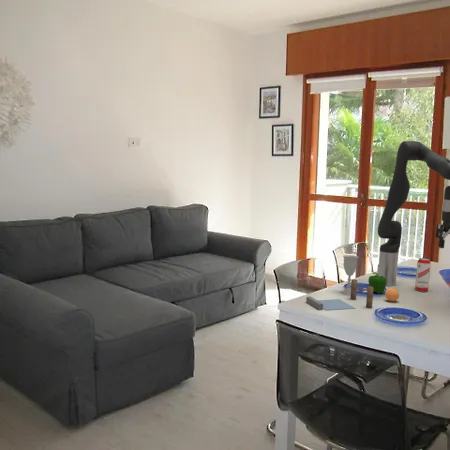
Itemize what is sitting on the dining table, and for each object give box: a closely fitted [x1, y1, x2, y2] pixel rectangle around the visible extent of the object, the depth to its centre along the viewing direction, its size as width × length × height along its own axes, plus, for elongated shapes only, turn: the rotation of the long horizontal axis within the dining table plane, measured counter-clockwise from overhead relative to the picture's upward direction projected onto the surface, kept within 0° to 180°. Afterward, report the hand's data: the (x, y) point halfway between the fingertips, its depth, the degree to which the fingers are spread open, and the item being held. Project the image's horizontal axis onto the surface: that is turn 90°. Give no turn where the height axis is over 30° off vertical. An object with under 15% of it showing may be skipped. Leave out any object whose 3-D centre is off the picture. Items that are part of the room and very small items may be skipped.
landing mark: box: [316, 298, 356, 311], centre depth 219 cm, size 14×14×1 cm
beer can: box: [414, 257, 431, 293], centre depth 248 cm, size 6×6×16 cm
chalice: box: [342, 254, 360, 296], centre depth 238 cm, size 7×7×18 cm
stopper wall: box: [305, 296, 324, 311], centre depth 217 cm, size 12×2×2 cm, turn 16°
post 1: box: [349, 278, 358, 301], centre depth 229 cm, size 3×3×9 cm
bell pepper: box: [368, 271, 387, 294], centre depth 242 cm, size 8×8×10 cm
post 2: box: [365, 285, 374, 309], centre depth 216 cm, size 3×3×9 cm
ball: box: [384, 287, 400, 302], centre depth 227 cm, size 6×6×6 cm
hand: (448, 247), depth 216 cm, fingers open, 8 cm apart
